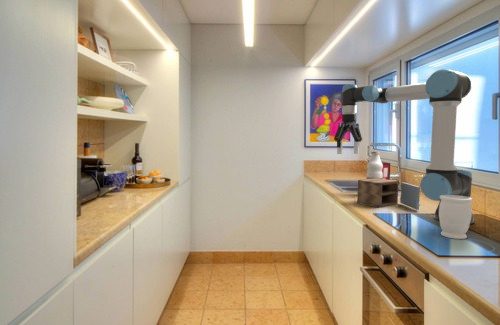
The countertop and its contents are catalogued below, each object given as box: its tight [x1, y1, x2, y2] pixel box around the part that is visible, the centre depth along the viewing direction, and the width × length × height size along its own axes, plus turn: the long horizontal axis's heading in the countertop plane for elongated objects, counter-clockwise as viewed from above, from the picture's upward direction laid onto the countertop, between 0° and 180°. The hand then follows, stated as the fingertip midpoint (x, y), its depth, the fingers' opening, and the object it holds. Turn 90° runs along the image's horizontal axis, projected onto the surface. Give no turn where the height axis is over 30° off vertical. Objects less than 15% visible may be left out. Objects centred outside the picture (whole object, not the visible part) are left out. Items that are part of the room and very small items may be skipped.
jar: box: [439, 195, 474, 240], centre depth 126 cm, size 11×10×15 cm
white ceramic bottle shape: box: [366, 151, 383, 179], centre depth 209 cm, size 9×9×28 cm
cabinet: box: [356, 178, 400, 209], centre depth 186 cm, size 14×17×13 cm
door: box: [399, 181, 421, 210], centre depth 177 cm, size 3×18×12 cm, turn 2°
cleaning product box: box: [367, 160, 391, 180], centre depth 229 cm, size 16×9×20 cm, turn 179°
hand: (348, 153), depth 181 cm, fingers open, 13 cm apart
